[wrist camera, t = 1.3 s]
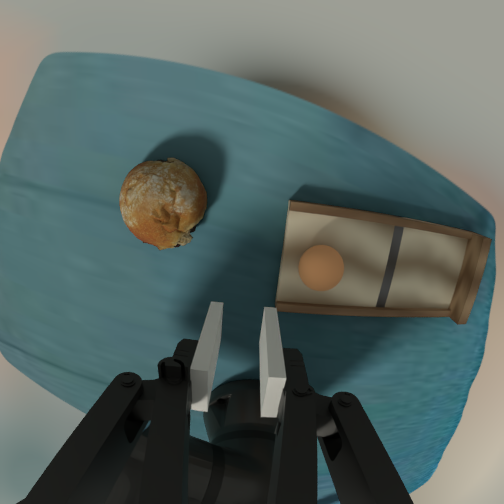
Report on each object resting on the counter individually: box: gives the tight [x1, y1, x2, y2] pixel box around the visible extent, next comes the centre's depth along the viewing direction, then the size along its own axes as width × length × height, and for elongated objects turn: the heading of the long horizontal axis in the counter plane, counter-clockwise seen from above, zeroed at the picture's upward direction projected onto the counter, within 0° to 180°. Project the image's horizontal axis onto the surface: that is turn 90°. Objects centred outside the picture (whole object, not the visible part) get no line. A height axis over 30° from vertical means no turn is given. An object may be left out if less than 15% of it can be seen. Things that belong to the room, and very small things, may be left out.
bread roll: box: [119, 158, 207, 250], centre depth 30 cm, size 10×10×8 cm
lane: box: [275, 200, 492, 324], centre depth 31 cm, size 13×29×4 cm, turn 84°
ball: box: [298, 245, 344, 291], centre depth 30 cm, size 5×5×5 cm
